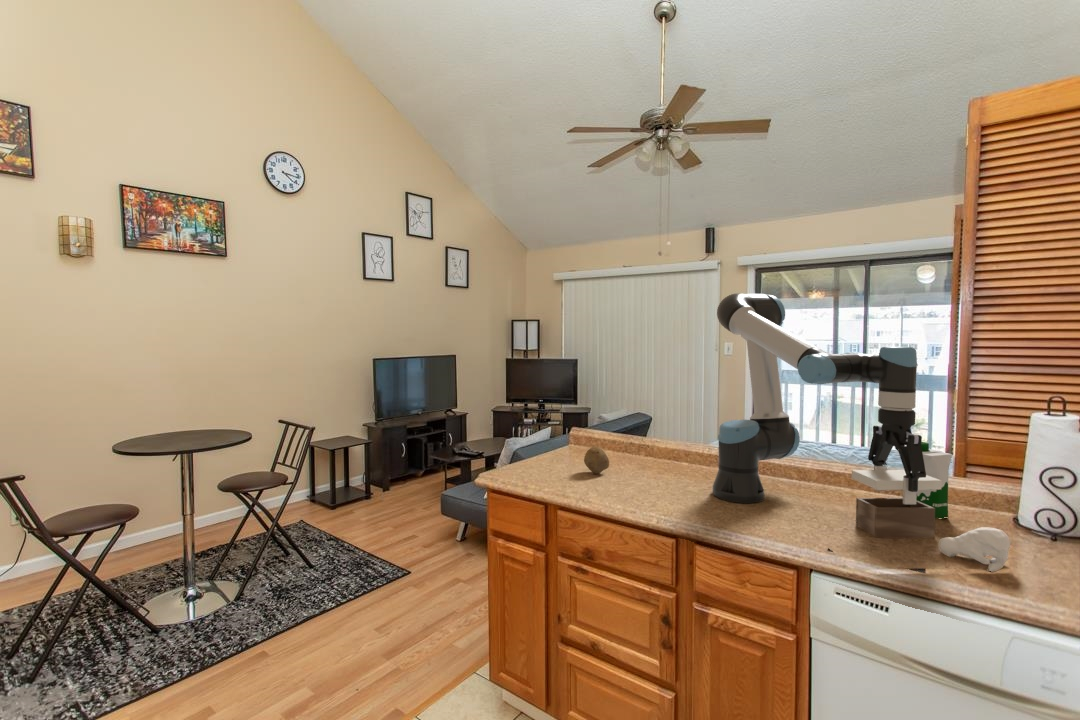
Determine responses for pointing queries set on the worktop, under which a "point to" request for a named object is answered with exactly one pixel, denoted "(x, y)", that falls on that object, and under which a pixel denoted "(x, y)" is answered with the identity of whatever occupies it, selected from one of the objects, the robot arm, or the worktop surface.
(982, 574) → the worktop surface
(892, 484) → the lid
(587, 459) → the brown oval lump
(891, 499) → the storage box
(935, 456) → the milk carton
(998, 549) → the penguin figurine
